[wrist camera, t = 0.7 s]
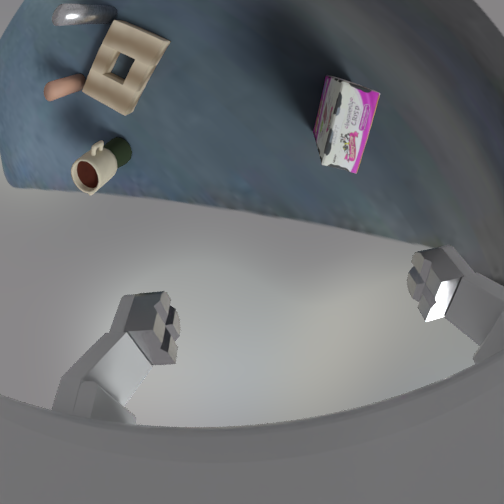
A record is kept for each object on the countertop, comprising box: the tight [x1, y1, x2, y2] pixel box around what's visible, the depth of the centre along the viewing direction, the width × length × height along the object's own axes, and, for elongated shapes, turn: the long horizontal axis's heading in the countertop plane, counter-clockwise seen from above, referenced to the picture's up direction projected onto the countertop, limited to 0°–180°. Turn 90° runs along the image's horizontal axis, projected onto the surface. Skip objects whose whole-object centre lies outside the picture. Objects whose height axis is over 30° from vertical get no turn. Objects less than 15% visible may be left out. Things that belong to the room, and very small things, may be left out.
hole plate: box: [82, 20, 171, 116], centre depth 38 cm, size 16×12×3 cm
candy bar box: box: [313, 75, 380, 173], centre depth 35 cm, size 11×5×16 cm, turn 172°
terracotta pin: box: [44, 74, 85, 101], centre depth 38 cm, size 4×4×9 cm
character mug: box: [71, 137, 132, 195], centre depth 47 cm, size 11×7×13 cm, turn 158°
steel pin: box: [52, 4, 117, 26], centre depth 27 cm, size 4×4×14 cm
